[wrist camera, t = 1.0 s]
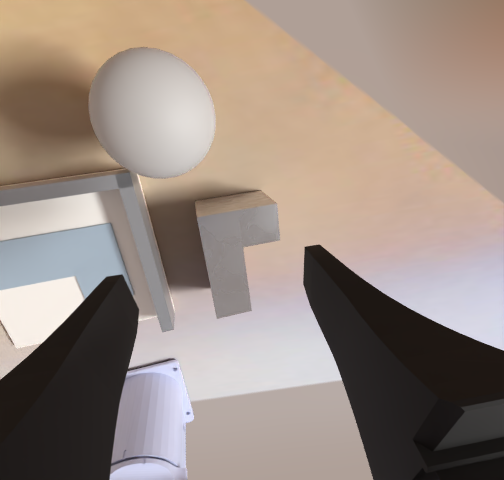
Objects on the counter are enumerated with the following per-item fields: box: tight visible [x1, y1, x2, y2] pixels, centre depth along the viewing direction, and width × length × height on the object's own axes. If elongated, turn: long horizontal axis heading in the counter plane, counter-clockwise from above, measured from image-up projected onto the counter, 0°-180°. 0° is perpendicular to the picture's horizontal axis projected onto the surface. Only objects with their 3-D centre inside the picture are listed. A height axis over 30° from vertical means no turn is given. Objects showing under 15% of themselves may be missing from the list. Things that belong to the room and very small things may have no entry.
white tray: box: [0, 169, 175, 348], centre depth 23 cm, size 14×14×3 cm
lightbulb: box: [88, 47, 216, 178], centre depth 17 cm, size 6×6×11 cm
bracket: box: [195, 190, 280, 319], centre depth 24 cm, size 9×6×5 cm, turn 6°
